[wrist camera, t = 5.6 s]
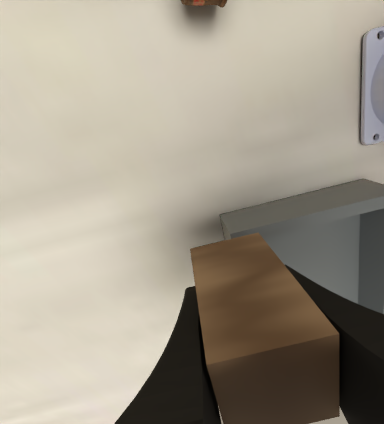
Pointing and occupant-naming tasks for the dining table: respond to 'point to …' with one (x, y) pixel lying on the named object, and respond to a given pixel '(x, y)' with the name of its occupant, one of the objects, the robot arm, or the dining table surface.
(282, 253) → the bin
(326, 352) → the block
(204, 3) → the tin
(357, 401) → the robot arm
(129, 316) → the dining table surface
